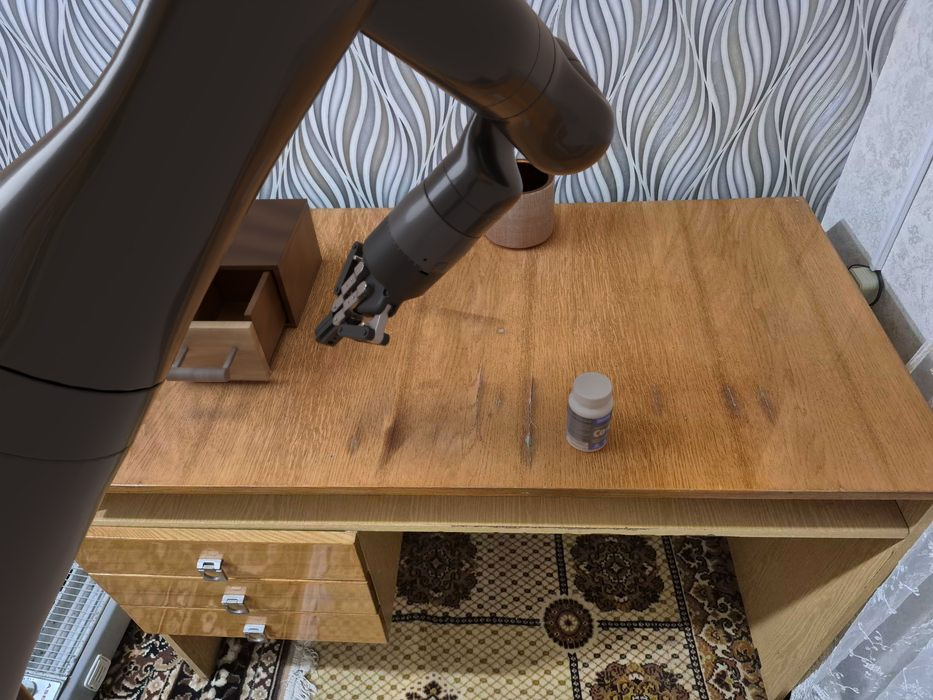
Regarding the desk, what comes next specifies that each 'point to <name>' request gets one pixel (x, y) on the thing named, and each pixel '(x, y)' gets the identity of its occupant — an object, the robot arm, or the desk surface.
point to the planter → (527, 211)
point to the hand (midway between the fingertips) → (322, 339)
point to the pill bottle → (589, 412)
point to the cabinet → (279, 250)
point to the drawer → (232, 329)
